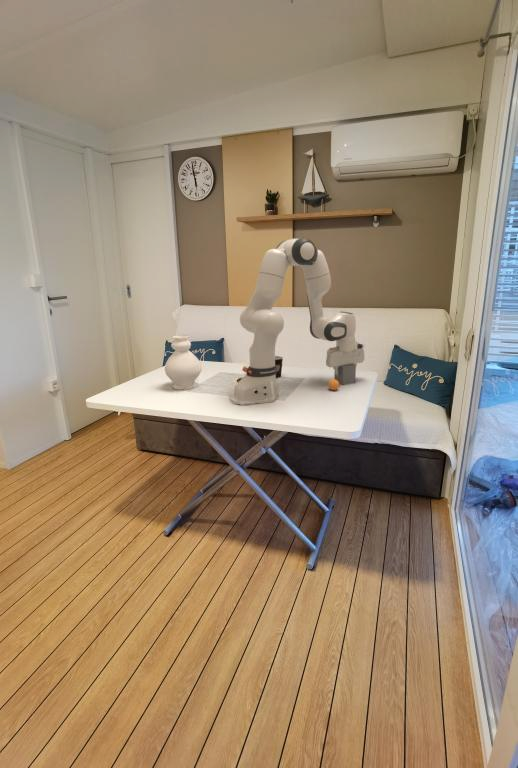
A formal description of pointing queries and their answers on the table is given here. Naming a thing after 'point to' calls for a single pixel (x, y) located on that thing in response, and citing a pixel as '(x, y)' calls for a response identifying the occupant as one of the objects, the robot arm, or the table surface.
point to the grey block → (346, 374)
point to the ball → (333, 384)
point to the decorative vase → (182, 364)
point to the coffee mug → (278, 365)
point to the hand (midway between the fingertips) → (344, 373)
